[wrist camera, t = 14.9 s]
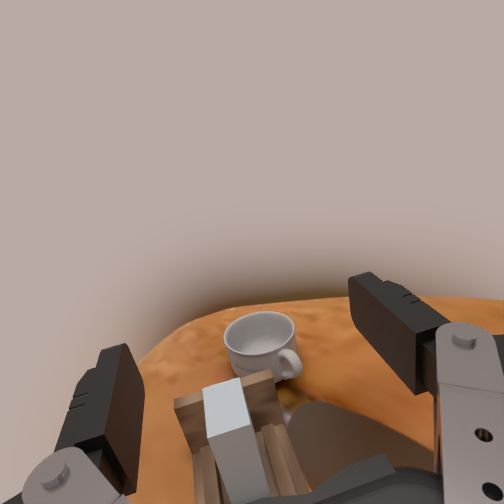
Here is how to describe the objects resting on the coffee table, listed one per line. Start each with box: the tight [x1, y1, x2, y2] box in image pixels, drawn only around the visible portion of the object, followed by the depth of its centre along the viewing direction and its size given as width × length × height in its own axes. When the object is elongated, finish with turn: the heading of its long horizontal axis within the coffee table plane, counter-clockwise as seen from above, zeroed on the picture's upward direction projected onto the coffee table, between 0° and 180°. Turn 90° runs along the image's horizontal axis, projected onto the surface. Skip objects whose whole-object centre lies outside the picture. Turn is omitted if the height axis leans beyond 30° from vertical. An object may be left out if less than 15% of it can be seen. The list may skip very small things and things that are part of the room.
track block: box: [174, 369, 309, 504], centre depth 36 cm, size 12×16×9 cm
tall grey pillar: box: [202, 377, 271, 504], centre depth 35 cm, size 4×6×12 cm, turn 12°
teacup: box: [223, 311, 303, 383], centre depth 51 cm, size 14×11×8 cm
